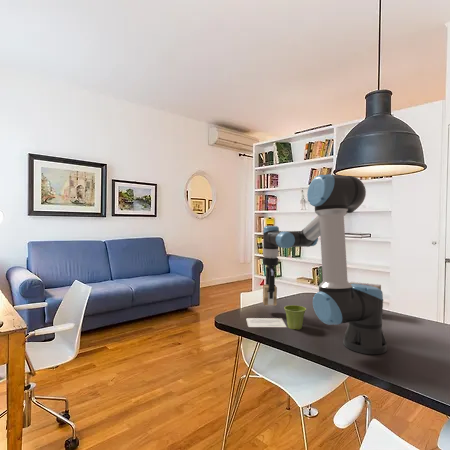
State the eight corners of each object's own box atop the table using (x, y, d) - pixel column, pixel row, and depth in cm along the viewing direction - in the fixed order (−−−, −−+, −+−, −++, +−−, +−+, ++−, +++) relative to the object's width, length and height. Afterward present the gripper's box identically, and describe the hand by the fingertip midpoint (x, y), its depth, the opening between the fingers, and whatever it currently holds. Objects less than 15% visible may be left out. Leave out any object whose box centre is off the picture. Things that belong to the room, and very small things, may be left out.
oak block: (276, 305, 160) (276, 287, 160) (264, 305, 160) (264, 287, 159) (274, 302, 166) (274, 284, 166) (262, 302, 166) (263, 284, 165)
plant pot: (297, 333, 136) (297, 312, 136) (279, 327, 143) (279, 307, 143) (310, 328, 142) (310, 308, 142) (292, 322, 150) (292, 303, 149)
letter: (286, 327, 143) (286, 327, 143) (248, 327, 143) (248, 326, 143) (281, 318, 155) (281, 318, 155) (246, 318, 155) (246, 318, 155)
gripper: (281, 259, 152) (280, 308, 153) (274, 254, 171) (274, 297, 172) (265, 259, 152) (264, 308, 153) (260, 254, 171) (259, 297, 172)
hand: (269, 302), depth 163 cm, fingers closed on oak block, 6 cm apart
